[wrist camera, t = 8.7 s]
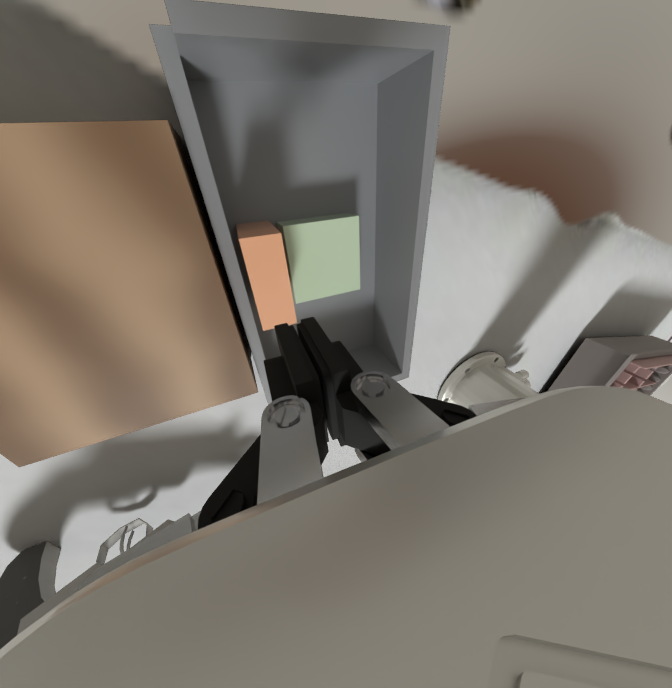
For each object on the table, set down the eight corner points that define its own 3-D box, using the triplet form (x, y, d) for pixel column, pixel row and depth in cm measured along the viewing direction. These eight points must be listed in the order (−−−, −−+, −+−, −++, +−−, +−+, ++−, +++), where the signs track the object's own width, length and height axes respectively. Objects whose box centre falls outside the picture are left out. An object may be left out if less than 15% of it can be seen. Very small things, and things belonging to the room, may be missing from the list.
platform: (179, 136, 15) (166, 119, 11) (250, 357, 24) (258, 392, 20) (-202, 150, 11) (-442, 132, 7) (57, 410, 20) (19, 467, 16)
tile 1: (282, 226, 17) (276, 222, 18) (296, 303, 20) (289, 293, 21) (358, 215, 18) (346, 212, 20) (360, 289, 21) (349, 281, 23)
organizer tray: (480, 470, 65) (516, 509, 57) (578, 330, 47) (651, 360, 39) (549, 445, 79) (586, 474, 71) (647, 329, 60) (711, 351, 52)
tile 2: (235, 224, 17) (268, 220, 18) (255, 298, 20) (282, 293, 21) (238, 238, 13) (281, 233, 14) (263, 330, 16) (297, 323, 17)
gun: (-21, 564, 23) (-64, 814, 14) (248, 399, 38) (314, 464, 29) (23, 582, 26) (12, 798, 17) (257, 422, 41) (319, 488, 32)
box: (384, 69, 17) (450, 26, 12) (377, 345, 29) (408, 377, 24) (164, 61, 13) (136, -6, 8) (262, 380, 25) (273, 425, 21)
